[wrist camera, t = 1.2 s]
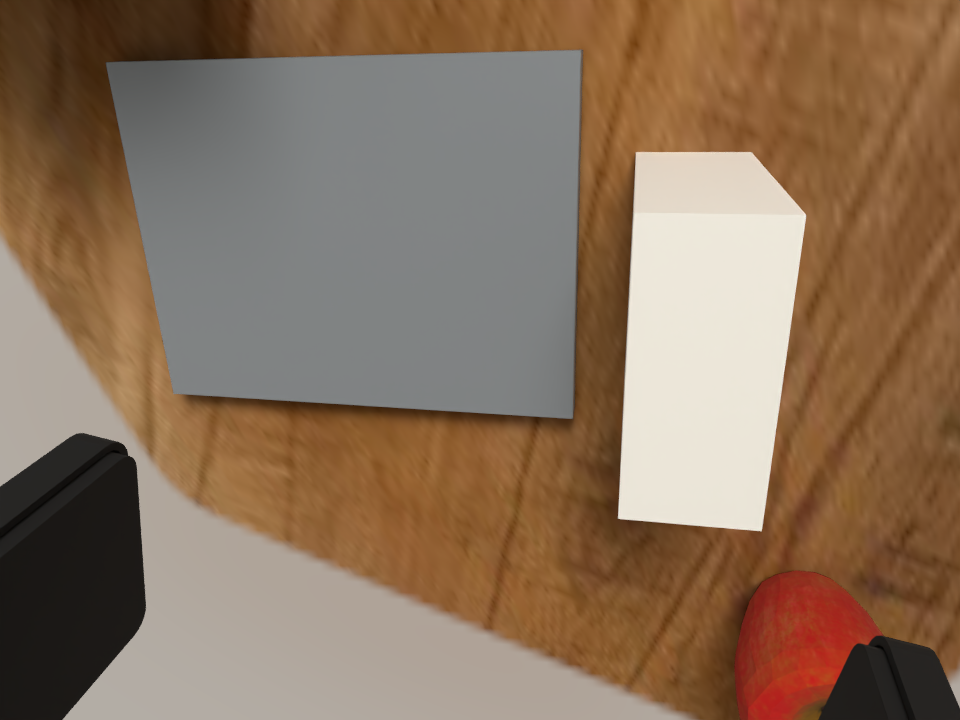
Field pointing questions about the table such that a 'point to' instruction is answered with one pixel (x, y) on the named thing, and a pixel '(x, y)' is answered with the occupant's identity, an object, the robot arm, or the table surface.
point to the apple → (796, 645)
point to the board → (362, 225)
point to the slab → (705, 337)
